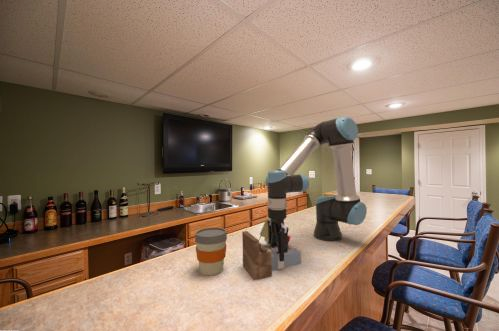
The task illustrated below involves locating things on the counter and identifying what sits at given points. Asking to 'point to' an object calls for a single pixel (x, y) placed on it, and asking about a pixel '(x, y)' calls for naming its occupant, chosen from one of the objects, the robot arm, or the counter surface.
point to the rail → (287, 258)
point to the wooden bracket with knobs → (256, 257)
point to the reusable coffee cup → (211, 250)
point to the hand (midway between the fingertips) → (277, 265)
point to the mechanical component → (265, 231)
